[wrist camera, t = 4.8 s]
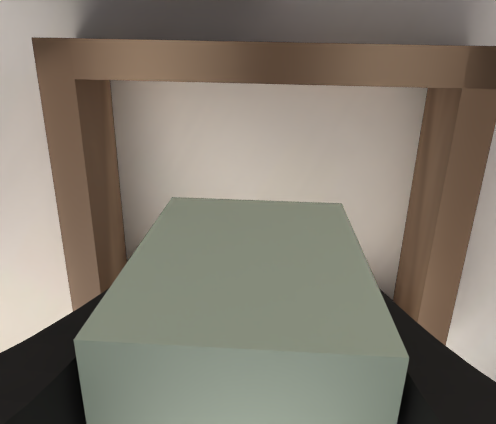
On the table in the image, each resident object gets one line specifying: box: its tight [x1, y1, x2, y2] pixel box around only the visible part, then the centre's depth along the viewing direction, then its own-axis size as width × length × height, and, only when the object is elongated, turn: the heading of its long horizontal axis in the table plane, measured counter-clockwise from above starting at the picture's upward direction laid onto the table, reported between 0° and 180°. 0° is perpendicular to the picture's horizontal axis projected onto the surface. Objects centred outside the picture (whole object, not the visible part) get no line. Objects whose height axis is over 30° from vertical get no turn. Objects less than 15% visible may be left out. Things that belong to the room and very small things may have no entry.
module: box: [74, 197, 409, 424], centre depth 9 cm, size 4×4×6 cm
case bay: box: [32, 38, 496, 345], centre depth 16 cm, size 14×12×3 cm
